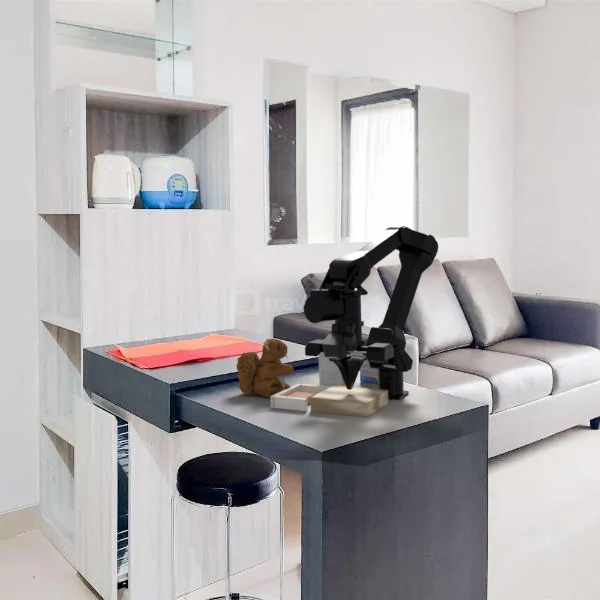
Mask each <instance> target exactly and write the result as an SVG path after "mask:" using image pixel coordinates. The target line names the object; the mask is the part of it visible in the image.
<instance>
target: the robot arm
mask: <svg viewBox="0 0 600 600" xmlns="http://www.w3.org/2000/svg"><path fill="white" fill-rule="evenodd" d="M395 250H396V251H398V259H399V262H400V270H399V274H398V276H397V279H396V282H395V284H394V288H393V291H392V294H391V296H390V300H389V303H388V306H387V308H386V312H385V314H384V318H383V319H382V320H383V321H382V323H381V324H380V325H379V326H378V327H377V326H371V328H370V329H369V334H368V336H367V339H366V341H365V339H363V336H362V333H363V330H362V329H363V328H362V327H364V326H365V321H364V320H362V296H367V295H368V291H367V289H365V288H364V287H363V286H362V285H363V283H364V282H365V281H366V280H367V279H368V277H369V276H370V275H371V271H372V269H373V268H374V266H377V264H378V263H379V262H381V261H382V260H384V259H385V258H387V257H388V256H389V255H390V254H392V253H394V252H395ZM438 252H439V243H438V241H437V240H436V238H435V236H433V235H432V234H427V233H423V232H420V231H417V230H414V229H411V228H410V227H408V226H406V225H390V226H389V227H387V228H385V230H384V231H383V232H382V233H381V234H379V235H378V236H376V237H375V238H374V239H372V240H371V241H370V242H368V243H366V244H365V245H363V247H361V248H360V249H359V250H356V251H355V252H352V253H348V254H344V255H342V256H339V257H337V258H335V259H333V260H332V261H331V262H330V263H329V265H328V267H329V268H328V269H327V271H326V274H325V276H324V278H323V281H322V282H321V284H320V286H319V288H318V289H311V290H310V295H309V296H308V297H307V298H306V300H305V303H304V305H303V313H304V316H305V317H306V319H307V321H308V322H309V323H312V324H318V323H323V322H331V321H334V322H333V323H331V331H330V333H329V334H328V335H327V336H326V337H325V338H324V339H314V340H312V341H309V342H307V343H306V345H305V347H304V355H305V356H307V357H319V354H320V353H321V352H324V356H325V357H330V358H329V361H332V362H334V363H335V364H336V365H337V366H338V368H339V370H340V372H341V375H342V377H343V380H344V383H345V386H346V388H347V389H348V390H351V389H352V388H353V387H355V383H356V380H357V378H358V376H359V374H360V368H361V366H362V364H363V363H364V361H365V360H368V361H369V365H370V368H377V369H378V384H377V385H378V388H377V389H382V390H388V399H395V400H401V399H403V397H405V396H406V395H408V394H409V392H410V391H409V390H404V388H405V387H404V385H405V384H404V373H407V372H409V371H411V370H412V367H413V362H414V360H413V358H412V357H411V356H410V354H408V353H407V351H406V345H407V341H406V337H405V331H404V330H405V327H406V323H407V320H408V318H409V317H408V316H409V314H410V310H411V307H412V304H413V302H414V298H415V295H416V293H417V290H418V287H419V283H420V280H421V277H422V274H423V273H424V272H425V271H426V270H427V269H428V268H429V267H431V266H432V265H433V262H434V261H435V258H436V257H437V255H438ZM364 345H365V346H364Z"/></svg>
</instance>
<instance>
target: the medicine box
mask: <svg viewBox="0 0 600 600" xmlns="http://www.w3.org/2000/svg"><path fill="white" fill-rule="evenodd" d="M359 382H361V383H363V384H371V385H372V384H375V385H378V369H377V368H370V365H369V361H368V360H365V361H364V363H363V364H362V366H361V368H360V370H359Z"/></svg>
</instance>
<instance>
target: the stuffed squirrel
mask: <svg viewBox="0 0 600 600" xmlns="http://www.w3.org/2000/svg"><path fill="white" fill-rule="evenodd" d="M262 344H263V345H262V350H261V351H262V352H261V357H259V354H258V353H257V352H254V351H248V352H243V353H241V354H240V356H239V357H238V358H237V363H236V370H237V373H238V374H237V377H238V380H239V382H238V385H237V387H238V389H239V390H240V392H241V393H243V394H245V395H246V396H248V397H251V396H261V397H263V398H268V399H271V396H272V395H275V394H277V393H279V392H281V391H283V390H286V389H288V388H290V387H291V386H290V384H288V383H286V381H285V378H284V376H289V375H292V374H293V372H294V367H293V366H292V365H291V364H290V363H289V364H288V363H282V362H283V361H282V359H284V358H287V359H288V356H287V355H288V345H287V344H286V343H285V342H283V341H282V340H280V339H278V338H274V337H273V338H268V339H266V340H265V341H264V342H263V343H262Z"/></svg>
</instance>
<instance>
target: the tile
mask: <svg viewBox="0 0 600 600" xmlns="http://www.w3.org/2000/svg"><path fill="white" fill-rule="evenodd" d="M314 395H316V393H306V392H295V393H292V394H290V395H288V396H286V397H296V398H306V399H307V402H308V405H311V399H310V397H312V396H314Z"/></svg>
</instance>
